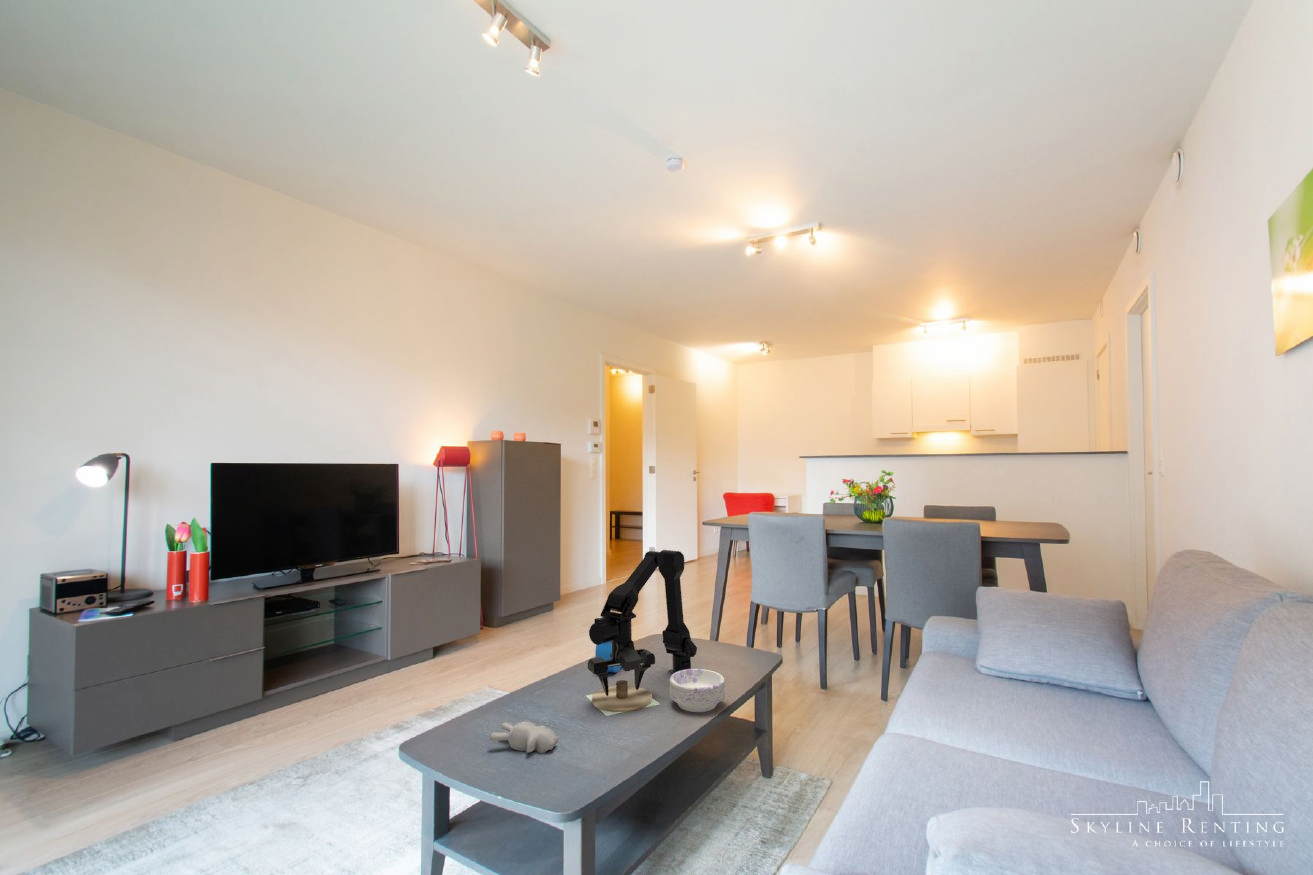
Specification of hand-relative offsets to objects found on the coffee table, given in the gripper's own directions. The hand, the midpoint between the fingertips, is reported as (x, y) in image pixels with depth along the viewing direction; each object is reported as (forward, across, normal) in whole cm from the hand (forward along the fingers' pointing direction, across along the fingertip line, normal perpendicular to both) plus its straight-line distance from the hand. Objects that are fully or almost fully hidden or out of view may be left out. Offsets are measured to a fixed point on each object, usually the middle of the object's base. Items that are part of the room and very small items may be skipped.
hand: (622, 692), depth 169 cm
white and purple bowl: (+3, +17, -13) cm, 22 cm away
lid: (+2, 0, 0) cm, 2 cm away
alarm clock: (+3, +7, +25) cm, 26 cm away
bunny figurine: (+3, -31, -14) cm, 34 cm away
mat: (+3, 0, 0) cm, 3 cm away
